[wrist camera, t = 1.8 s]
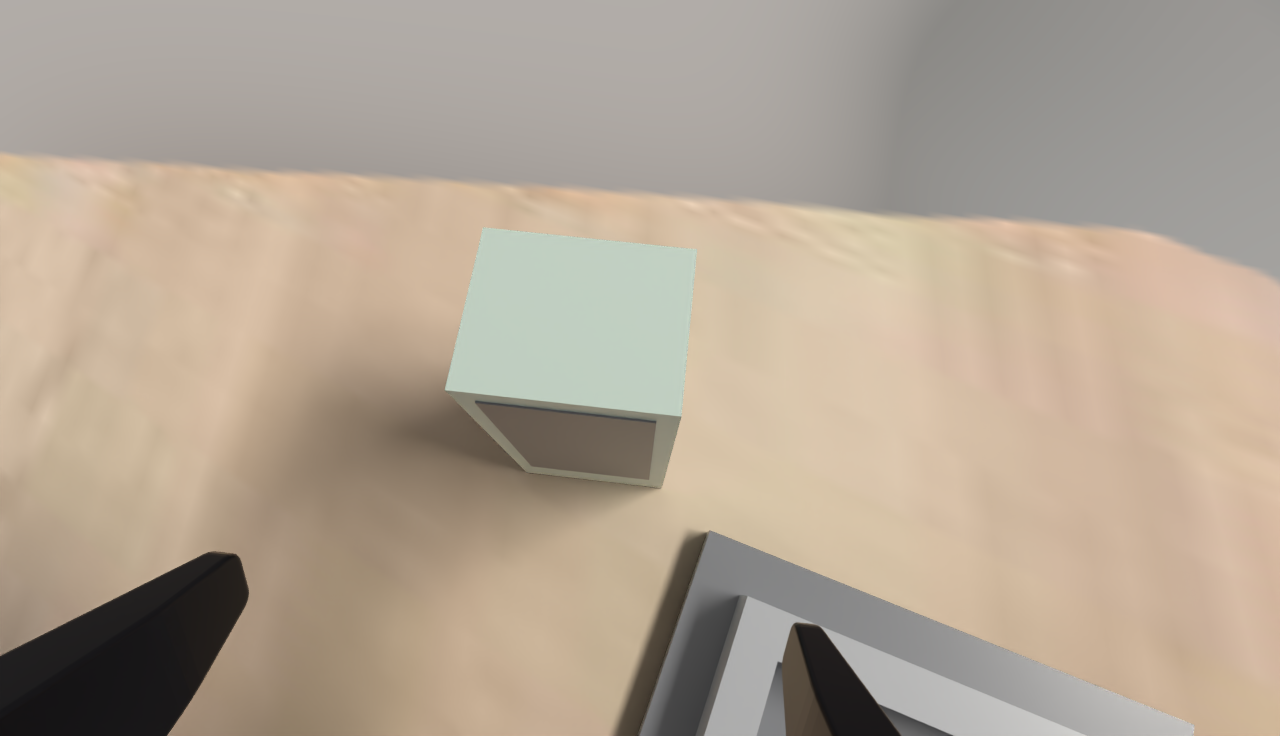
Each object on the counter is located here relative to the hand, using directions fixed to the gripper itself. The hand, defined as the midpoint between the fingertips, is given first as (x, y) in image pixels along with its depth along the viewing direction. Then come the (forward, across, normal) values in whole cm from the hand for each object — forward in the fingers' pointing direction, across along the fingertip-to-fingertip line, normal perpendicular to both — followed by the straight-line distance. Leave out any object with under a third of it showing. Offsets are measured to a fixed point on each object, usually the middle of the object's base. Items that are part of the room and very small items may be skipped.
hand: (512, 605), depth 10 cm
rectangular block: (+12, 0, +4) cm, 13 cm away
